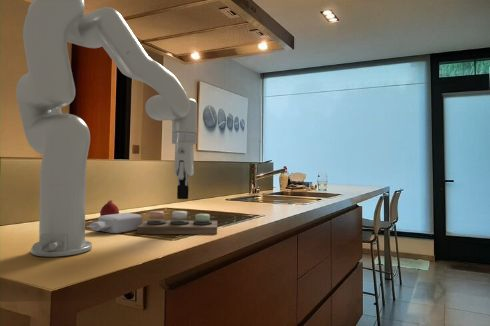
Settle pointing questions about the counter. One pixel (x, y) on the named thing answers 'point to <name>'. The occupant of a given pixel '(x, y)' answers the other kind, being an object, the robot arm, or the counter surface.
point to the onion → (109, 209)
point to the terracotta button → (156, 214)
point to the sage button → (202, 217)
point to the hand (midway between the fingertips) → (182, 198)
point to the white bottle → (117, 223)
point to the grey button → (179, 214)
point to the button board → (177, 227)
